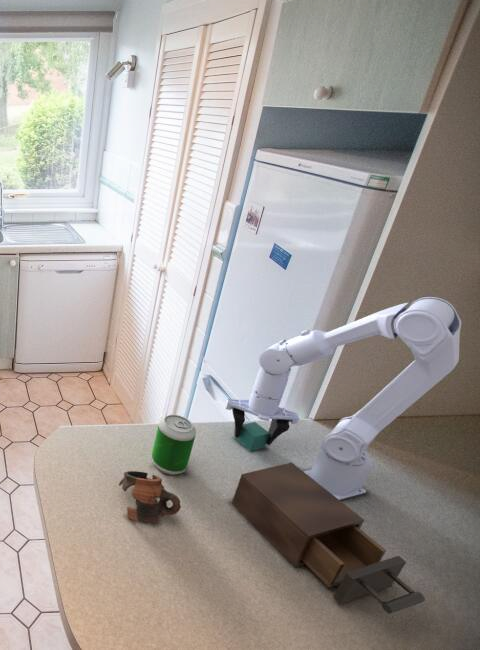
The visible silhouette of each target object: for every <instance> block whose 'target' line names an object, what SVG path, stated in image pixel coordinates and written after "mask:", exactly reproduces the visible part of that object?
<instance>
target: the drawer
mask: <svg viewBox="0 0 480 650" xmlns="http://www.w3.org/2000/svg"><path fill="white" fill-rule="evenodd" d="M386 552H387V549H386V548H384V547H383V546H382V545H381V544H380V543H378V542H377V541H376V540H375V539H373V538H372V537H371V536H369V535H368V534H367V533H366V532H365V531H364V530H362V529H361V527H360V528H358V527H357V526H356V525H354V526H351V527H348V528H344V529H341V530H337V531H334V532H331V533H327V534H324V535H320V536H317V537H313V538H311V539H310V541H309V544H308V546H307V548H306V550H305V552H304V554H303V556H302V559H301V560H302V561H303V562H304V563H305V564H304V565H306V566H307V568H309V570H311V571H312V572H313V574H315V575H316V576H317V577H318V578H319V579H320V580H321V582H323V583H324V585H325V586H327V587H328V588H332V587H335V586H338V588H337V589H336V591H335V593H334V595H333V597H332V598H333V599H334V600H335V601H336V602H337V603H338V604H339V605H341V604H346V603H347V602H351V601H353V600H357V599H359V598H362V597H365V596H368V595H371V596H372V597H373V598H374V599H375V600H376V601H377V602H379V604H380V605H381V609H382V610H383V611H384V612H385V613H387V614H388V615H389V614H390V615H391V614H393V613H397V612H399V611H401V610H404V609H408V608H410V607H413V606H415V605H418V604H422V603H424V602H425V601H426V599H425V598H426V597H425V596H424V595H423V593H421V592H419V591H415V590H413V589H412V587H410V586H409V585H408V584H406V583H405V582H404V581H403V580H402V579H401V578H399V575H400V574H401V572H402V570H403V568H404V567H405V565H406V563H407V561H406V560H405V559H404V558H402V557H401V556H400V555H396V556H393V557H390V558H387V559H384V560H382V559H383V557H384V556H385V553H386ZM395 583H396V584H397V585H398V586H400V587H401V588H402V589H403V590H404V591H405V592H406V593H407V594H404V595H401V596H399V597H395V598H393V599H390V600H387V601H386V600H385V599H384V598H383V597H382V596H381V595H380V594H379V593H377V592H380V591H382V590H386V589H389V588H391V587H392V586H393V584H395Z"/></svg>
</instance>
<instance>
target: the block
mask: <svg viewBox="0 0 480 650" xmlns="http://www.w3.org/2000/svg"><path fill="white" fill-rule="evenodd" d="M268 431H269V430H266V429H265V428H264V427H262V426H261V425H260V424H259V423H257V422H256V421H251V422H248V423H243V425H242V427H241V431H240V435H239V437H238V438H236V437H235V439H236V441H238V442H239V443H240V444H241V445H242V446H244V447H245V448H246V449H247V450H248V451H249V452H252V451H256V450H260V449H265V448H266V446H267V444H266V443H267V440H268V438H269V435H270V433H269V432H268Z"/></svg>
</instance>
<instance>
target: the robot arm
mask: <svg viewBox="0 0 480 650" xmlns="http://www.w3.org/2000/svg"><path fill="white" fill-rule="evenodd" d="M407 305H408V307H406V306H407ZM461 328H462V320H461V317H460V316H459V313H458V312H457V310H456V308H455V307H454V306H453V304H452V303H450V302H449V301H447V300H446V299H443V298H440V297H435V296H426V297H425V296H424V297H419V298H418V299H416V300H414V301H413V302H411V303H410V304H409V302H404V303H400V304H397V305H394V306H390V307H388V308H385V309H381V310H380V311H377V312H374V313H371V314H369V315H367V316H364V317H362V318H359V319H357V320H354V321H352V322H349V323H347V324H345V325H341V326H339V327H337V328H334V329H332V330H330V331H324V330H320V329H314V330H310V329H305V330H303V331H301V332H300V335H298V336H295V337H293V338H290V339H288V340H286V338H284V339H282V340H280V341H278V342H276V343H274V344H273V345H271V346H269V347H268V348H266V349H265V350H264V351H263V352H261V354H260V355H259V358H258V363H259V365H260V367H259V370H258V372H257V374H256V378H255V381H254V384H253V386H252V391H251V394H250V396H249V399H235V398H226V400H225V403H224V407H225V410H226V411H227V410H228V411H231V410H232V416H233V420H234V431H233V434H234V435H233V436H234V438H235V439H236V438H238V437H239V435H240V431H241V427H242V425H243V424H245V422H246V417H245V415H246V413H248V414H250V415H253V416H256V417H257V418H258V419H259V420H261V421H267V422H269V421H270V420H271V421H270V425H269V428H268V430H267V431H268V432H269V433H270V435H269V438H268V440H267V443H266V446H271V445H272V443H273V442H274V441H275V440H276V439H277V438H278V437H279V436H281V435H282V434H284V433H286V432H287V431H289V429H290V427H291V426H290V423H291V424H293V425H296V426H297V425H298V423H299V420H300V415H299V413H298V412H295V411H291V410H289V409H286V408H282V407H280V404H281V401H282V399H283V395H284V392H285V390H286V387H287V385H288V382H289V377H290V374H291V371H292V367H300V366H303V365H307V364H310V363H313V362H315V361H319V360H321V359H324V358H328V357H330V356H332V355H333V354H334V352H335V349H336V348H337V347H341V346H345V345H347V344H348V345H349V344H350V343H354V342H357V341H361V340H364V339H367V338H371V337H374V336H382V337H384V338H387V339H390V340H395V339H397V338H400V340H402V342H403V343H404V344H405V345H406V346H407V347H408V348H409V349H410V350H411V353H412V355H413V358H414V360H413V361H412V362H411V363H410V364H408V365H407V366H406V367H405V368H404V369H403V370H402V371H401V372H400V373H398V375H397V376H396V377H394V378H393V380H391V381H390V382H389V383H387V385H386V386H385V387H383V388H382V389H381V391H379V392H378V393H377V394H376V395H375V396H374V397H372V399H370V400H369V402H367V403H366V404H365V405H364V406H363V407H362V408H361V409H359V410H358V411H357V412H355V413H354V414H352V415H351V416H346V417H342V418H341V419H339V421H338V422H337V424H336V425H335V427H334V428H332V430H331V431H330V432H329V433H328V434H326V435H325V436H324V438H322V444H321V446H320V448H319V450H318V453H317V455H316V457H315V460H314V462H313V465H312V467H311V469H308V470H304V471H303V470H302V471H303V472H305V473H306V474H307V475H308V476H310V477H311V478H312V479H313V480H315V481H316V482H317V483H318V484H320V485H321V486H322V487H323V488H325V489H326V490H327V491H329V492H330V493H331V494H332V495H334V496H335V497H336V498H337V499H339V500H340V501H341V500H345V499H348V498H352V497H356V496H359V495H362V494H366V493H367V490H366V489H365V488H364V485H365V483H366V480H367V479H368V476H369V475H370V472H371V471H372V469H373V461H372V458H371V456H370V455H369V453H368V452H367V451H366V450H367V449H368V447H369V446H370V445H371V444H372V443H373V442H374V441H375V439H376V437H377V435H379V434H380V433H381V431H383V430H384V429H385V428H386V427H388V426H389V425H390V424H391V423H393V422H394V420H396V419H397V418H398V417H400V415H401V414H403V413H404V412H405V411H406V410H407V409H409V408H410V407H411V406H413V404H415V403H416V402H417V401H418V400H419V399H420V398H421V397H423V396H424V395H426V393H428V391H430V390H431V389H432V388H434V386H436V385H437V384H438V383H439V382H440V381H442V380H443V379H444V378H445V377H446V376H448V375H449V374H450V373H451V372H452V371H454V369H455V367H456V366H457V365H458V363H459V361H460V340H461V338H460V337H461Z"/></svg>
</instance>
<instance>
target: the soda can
mask: <svg viewBox="0 0 480 650" xmlns="http://www.w3.org/2000/svg"><path fill="white" fill-rule="evenodd" d="M196 435H197V428H196V427H195V426H194V424H193V423H192V421H191V420H189V419H188V418H186V417H185V416H182V415H180V414H179V415H178V414H168V415H166V416H163V417H162V418H161V417H160V419H159V421H158V425H157V429H156V434H155V438H154V443H153V447H152V450H151V451H152V452H151V461H152V463H153V465H154V466H155V467H156V468H157V469H158V471H160V472H162V473H164V474H168V475H171V476H173V475H179V474H182V473H184V472H186V470H187V468H188V465H189V461H190V457H191V453H192V450H193V447H194V442H195V440H196Z"/></svg>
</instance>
